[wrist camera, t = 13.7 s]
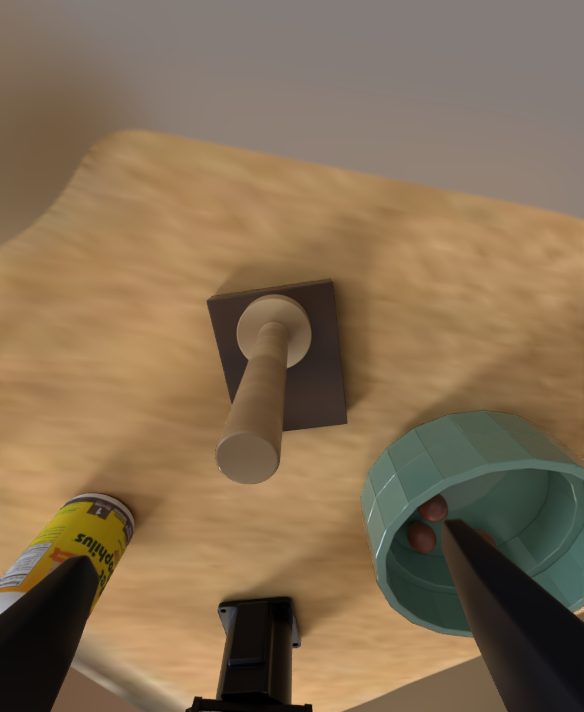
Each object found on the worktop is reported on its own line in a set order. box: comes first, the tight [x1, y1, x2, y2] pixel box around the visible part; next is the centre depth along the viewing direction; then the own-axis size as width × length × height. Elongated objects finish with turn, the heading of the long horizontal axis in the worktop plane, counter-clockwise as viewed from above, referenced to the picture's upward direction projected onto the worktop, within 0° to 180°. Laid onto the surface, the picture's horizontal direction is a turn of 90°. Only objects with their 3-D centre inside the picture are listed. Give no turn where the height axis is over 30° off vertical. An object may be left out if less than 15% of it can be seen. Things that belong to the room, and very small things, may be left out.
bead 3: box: [474, 529, 497, 549], centre depth 23 cm, size 2×2×2 cm
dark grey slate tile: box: [207, 279, 347, 432], centre depth 20 cm, size 9×7×1 cm
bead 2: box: [407, 521, 437, 554], centre depth 23 cm, size 2×2×2 cm
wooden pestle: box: [215, 294, 312, 484], centre depth 13 cm, size 4×4×11 cm
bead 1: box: [417, 494, 448, 523], centre depth 22 cm, size 2×2×2 cm
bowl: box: [361, 410, 584, 638], centre depth 21 cm, size 14×14×6 cm
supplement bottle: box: [0, 493, 135, 620], centre depth 20 cm, size 6×6×10 cm
